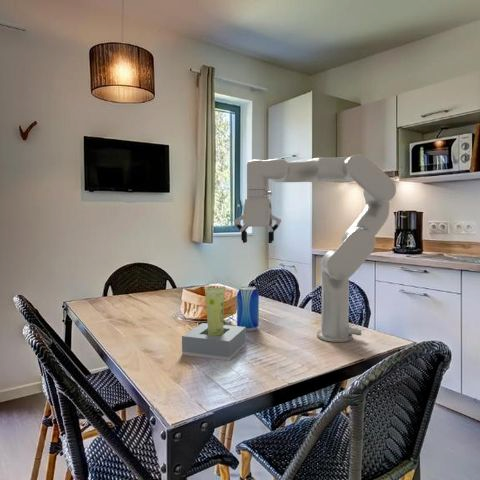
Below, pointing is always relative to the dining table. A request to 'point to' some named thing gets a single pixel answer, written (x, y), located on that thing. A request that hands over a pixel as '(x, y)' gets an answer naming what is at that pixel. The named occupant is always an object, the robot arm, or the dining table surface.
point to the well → (214, 342)
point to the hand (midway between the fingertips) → (257, 242)
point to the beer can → (248, 308)
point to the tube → (215, 310)
